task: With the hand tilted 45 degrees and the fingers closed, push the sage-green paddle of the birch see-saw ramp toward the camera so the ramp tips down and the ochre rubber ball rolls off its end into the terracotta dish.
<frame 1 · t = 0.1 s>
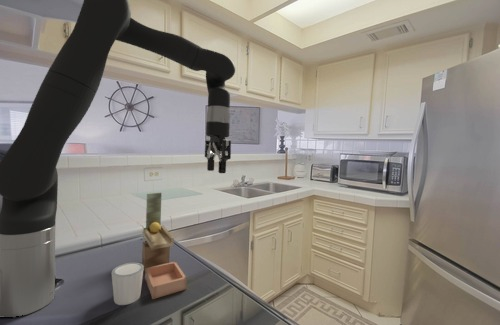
hand: (216, 171, 75), 29 cm above the counter, tool pointing down, fingers open, 8 cm apart
fulcrum: (155, 265, 71), on the counter
ball: (155, 227, 73), point 11 cm above the counter, touching ramp
ramp: (157, 217, 70), point 15 cm above the counter, hinge at 0.0°, touching ball
white cylinder: (127, 298, 55), on the counter
dish: (164, 283, 61), on the counter
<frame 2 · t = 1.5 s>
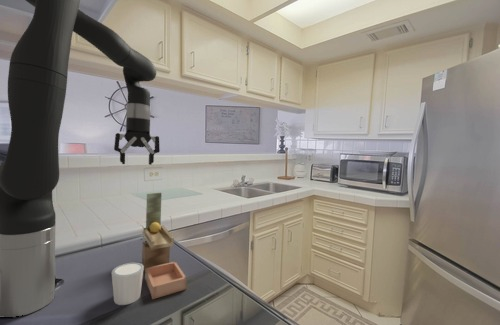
hand: (137, 164, 82), 30 cm above the counter, tool pointing down, fingers open, 8 cm apart
nothing on the counter moved.
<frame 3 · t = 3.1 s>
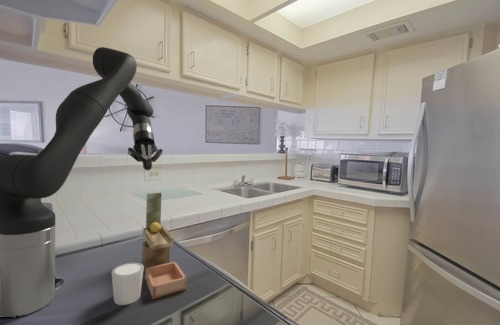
hand: (148, 168, 85), 28 cm above the counter, tool tilted 45°, fingers closed
nothing on the counter moved.
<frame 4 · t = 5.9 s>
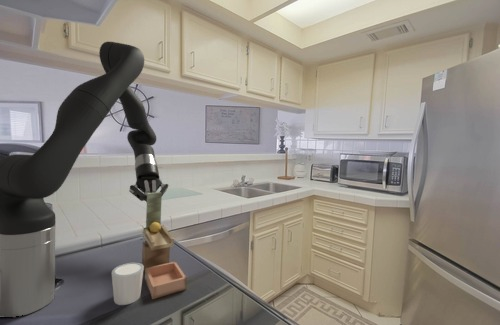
hand: (152, 209, 75), 16 cm above the counter, tool tilted 45°, fingers closed
ramp: (157, 217, 70), point 15 cm above the counter, hinge at 1.4°, touching ball, gripper
everything else where it was.
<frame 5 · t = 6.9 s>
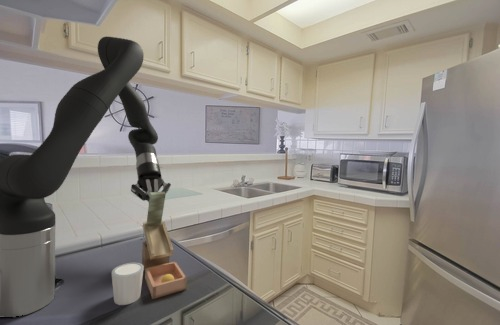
hand: (155, 209, 73), 17 cm above the counter, tool tilted 45°, fingers closed
ball: (167, 280, 59), point 2 cm above the counter, tilted 51°, touching dish
ramp: (159, 222, 68), point 14 cm above the counter, hinge at 23.4°, touching gripper
everything else where it was.
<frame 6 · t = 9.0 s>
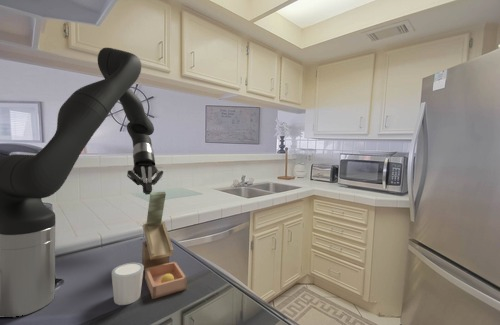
hand: (148, 193, 82), 20 cm above the counter, tool tilted 45°, fingers closed
ball: (167, 280, 59), point 2 cm above the counter, tilted 61°, touching dish
ramp: (159, 222, 68), point 14 cm above the counter, hinge at 23.7°
everything else where it was.
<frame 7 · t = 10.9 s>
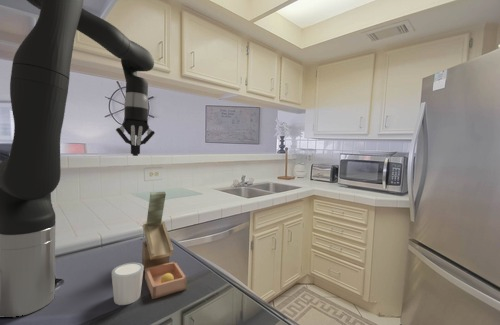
hand: (135, 155, 83), 33 cm above the counter, tool pointing down, fingers closed
ball: (167, 279, 60), point 2 cm above the counter, tilted 70°, touching dish
everything else where it was.
at the end: ball inside the target area on the dish (2.2 cm from its centre), point 2.2 cm above the dish's base; ramp at +24° (first picture: +0°) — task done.
